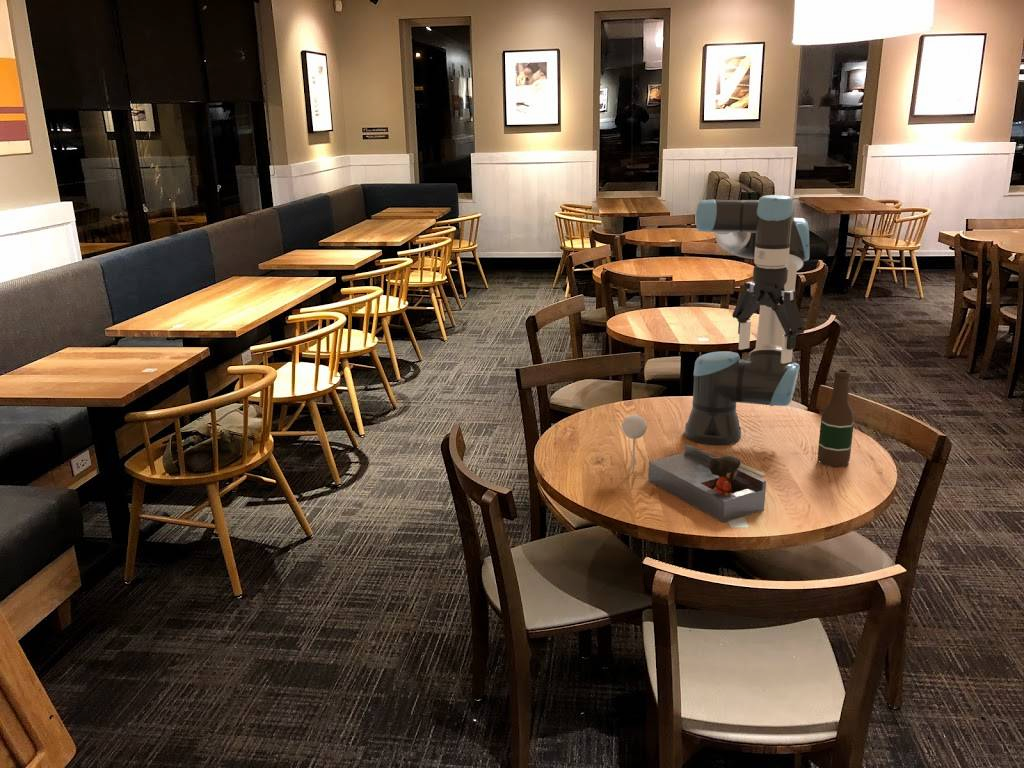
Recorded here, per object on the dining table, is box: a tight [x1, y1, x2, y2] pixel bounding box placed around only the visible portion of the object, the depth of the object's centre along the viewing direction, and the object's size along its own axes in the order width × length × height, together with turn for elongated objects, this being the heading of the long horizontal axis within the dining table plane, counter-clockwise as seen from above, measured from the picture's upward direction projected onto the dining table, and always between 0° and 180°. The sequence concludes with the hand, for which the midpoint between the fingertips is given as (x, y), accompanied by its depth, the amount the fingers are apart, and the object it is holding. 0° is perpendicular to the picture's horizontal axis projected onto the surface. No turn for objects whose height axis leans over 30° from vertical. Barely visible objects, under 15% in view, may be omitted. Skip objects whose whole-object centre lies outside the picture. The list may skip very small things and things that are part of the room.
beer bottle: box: [817, 369, 855, 468], centre depth 203 cm, size 8×8×24 cm
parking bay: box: [739, 462, 766, 478], centre depth 201 cm, size 12×12×1 cm
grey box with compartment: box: [647, 443, 767, 523], centre depth 188 cm, size 26×12×7 cm, turn 29°
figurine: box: [709, 454, 742, 496], centre depth 182 cm, size 6×6×12 cm
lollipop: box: [621, 414, 648, 473], centre depth 201 cm, size 6×6×15 cm
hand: (764, 355), depth 192 cm, fingers open, 13 cm apart
